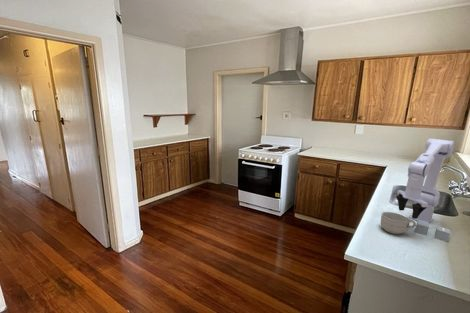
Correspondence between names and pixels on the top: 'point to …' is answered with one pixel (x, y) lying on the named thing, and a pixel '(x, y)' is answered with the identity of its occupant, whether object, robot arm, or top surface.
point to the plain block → (422, 228)
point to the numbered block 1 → (442, 234)
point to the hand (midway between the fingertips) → (407, 214)
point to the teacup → (395, 223)
